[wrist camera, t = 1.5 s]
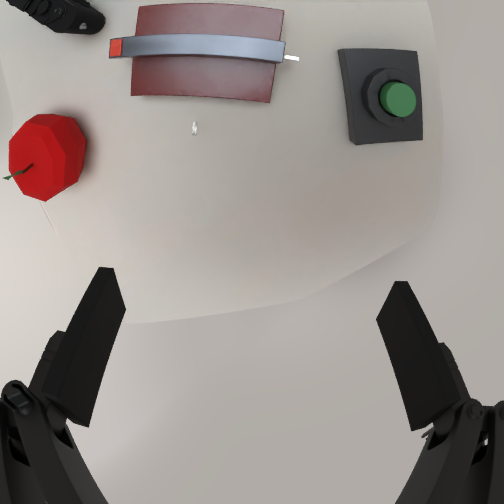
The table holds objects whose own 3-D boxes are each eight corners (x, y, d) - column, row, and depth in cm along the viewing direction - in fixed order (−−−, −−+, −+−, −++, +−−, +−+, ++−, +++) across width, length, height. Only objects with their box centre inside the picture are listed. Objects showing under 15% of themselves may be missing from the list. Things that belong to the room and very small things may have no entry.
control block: (414, 135, 30) (430, 144, 26) (349, 140, 31) (361, 150, 27) (407, 51, 23) (425, 51, 20) (337, 49, 24) (349, 47, 21)
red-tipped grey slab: (278, 47, 22) (286, 41, 17) (275, 64, 23) (282, 62, 18) (134, 42, 20) (108, 38, 16) (132, 58, 21) (107, 58, 17)
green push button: (409, 113, 25) (417, 116, 23) (380, 114, 25) (387, 117, 24) (407, 82, 23) (415, 83, 21) (377, 81, 23) (384, 83, 22)
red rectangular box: (305, -11, 20) (312, -19, 17) (280, 136, 31) (284, 145, 28) (137, -17, 18) (125, -24, 15) (124, 126, 29) (111, 133, 26)
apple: (90, 96, 26) (40, 114, 18) (104, 175, 32) (65, 214, 24) (30, 116, 26) (-20, 140, 18) (45, 185, 33) (5, 221, 24)
